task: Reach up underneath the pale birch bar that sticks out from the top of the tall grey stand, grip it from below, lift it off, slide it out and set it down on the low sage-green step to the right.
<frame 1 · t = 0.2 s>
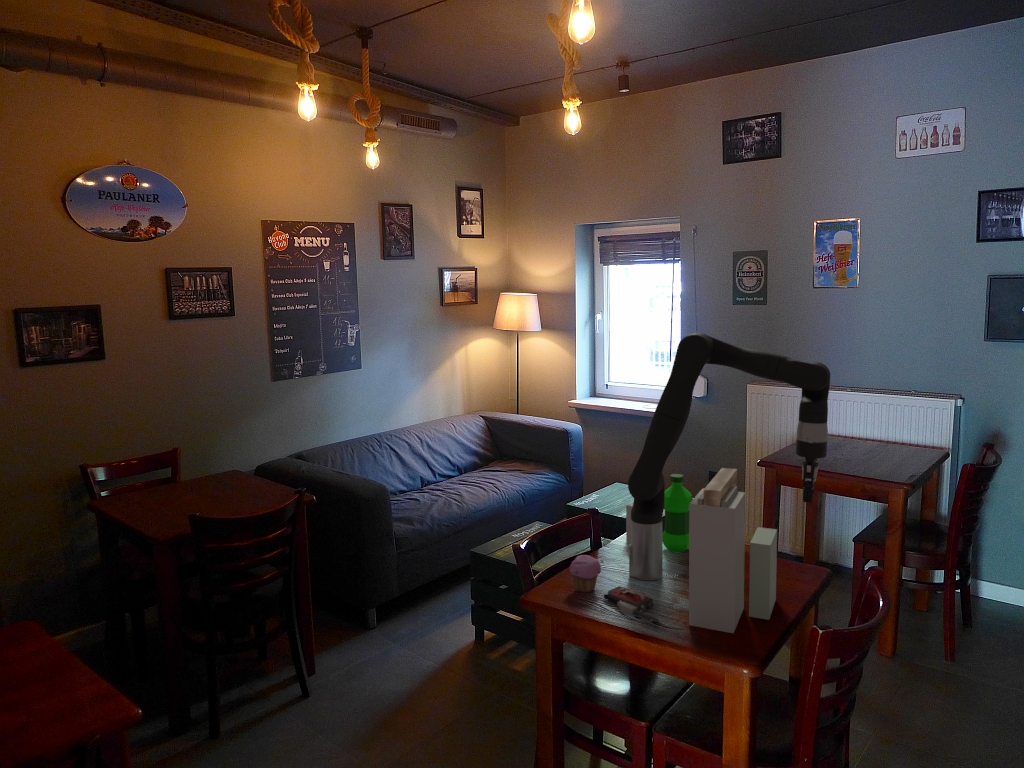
hand: (808, 497, 192), 29 cm above the table, tool pointing down, fingers open, 8 cm apart
small box: (641, 542, 244), on the table
birch bar: (721, 493, 187), point 32 cm above the table, touching grey stand
plastic bottle: (676, 550, 236), on the table
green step: (762, 608, 192), on the table
grey stand: (716, 616, 187), on the table
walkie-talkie: (636, 610, 194), on the table
cupcake: (585, 590, 207), on the table
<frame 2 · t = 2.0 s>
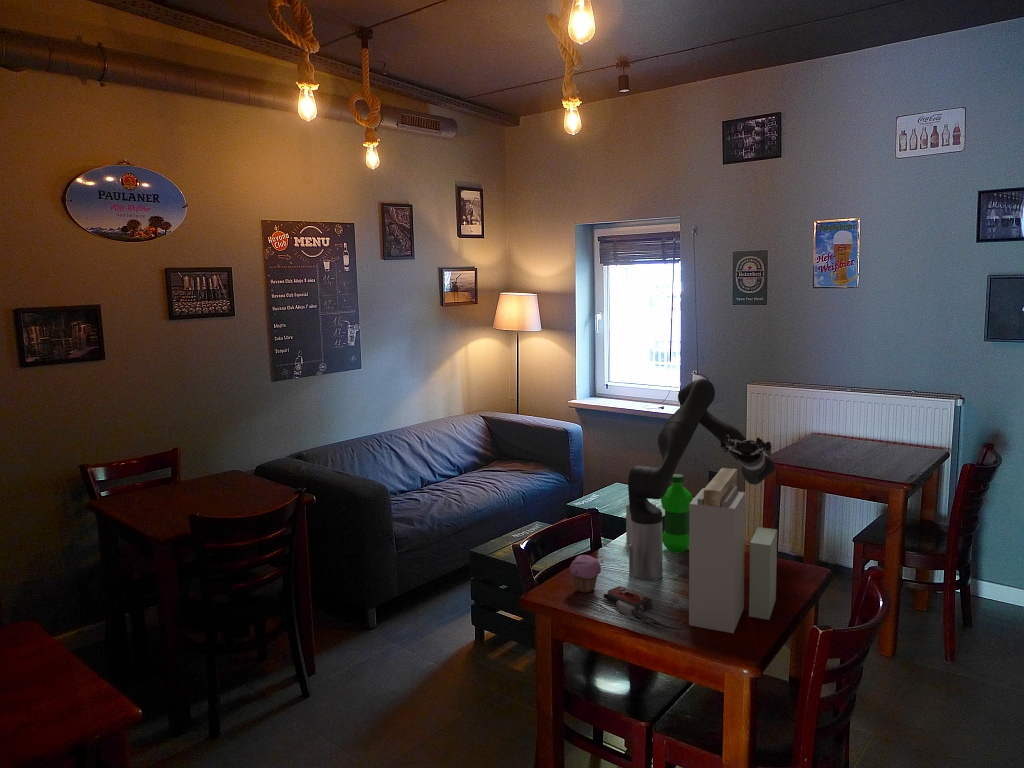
hand: (742, 439, 209), 41 cm above the table, tool pointing upward, fingers open, 8 cm apart
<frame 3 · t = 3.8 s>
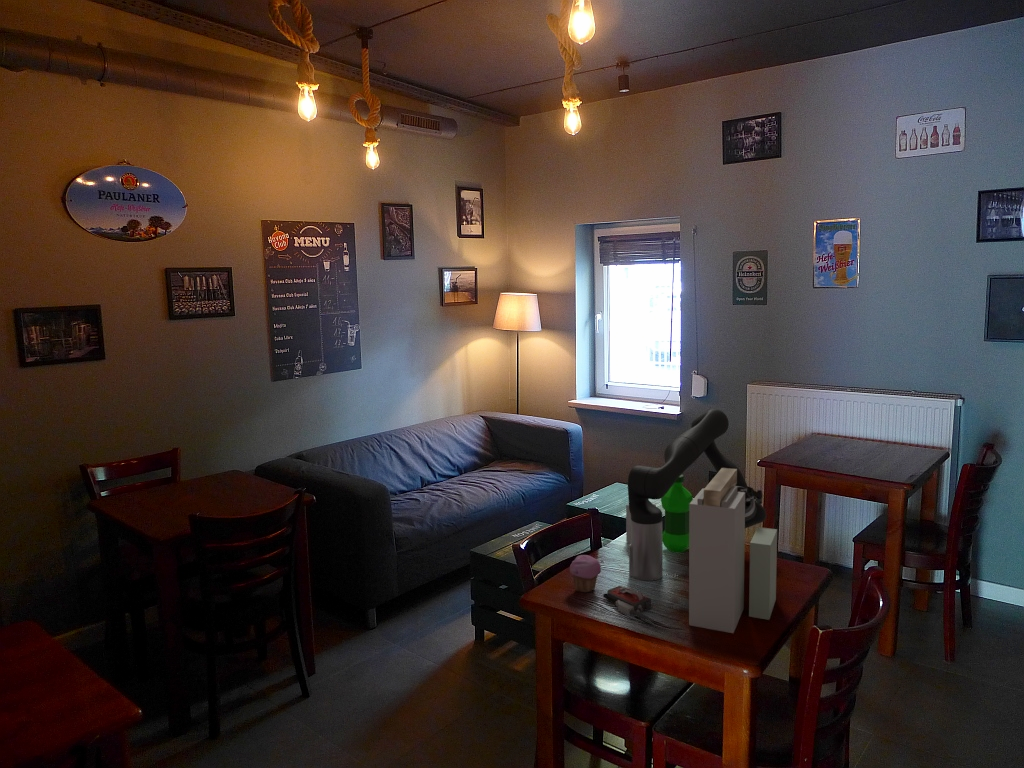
hand: (732, 487, 202), 29 cm above the table, tool pointing upward, fingers open, 8 cm apart
nothing on the table moved.
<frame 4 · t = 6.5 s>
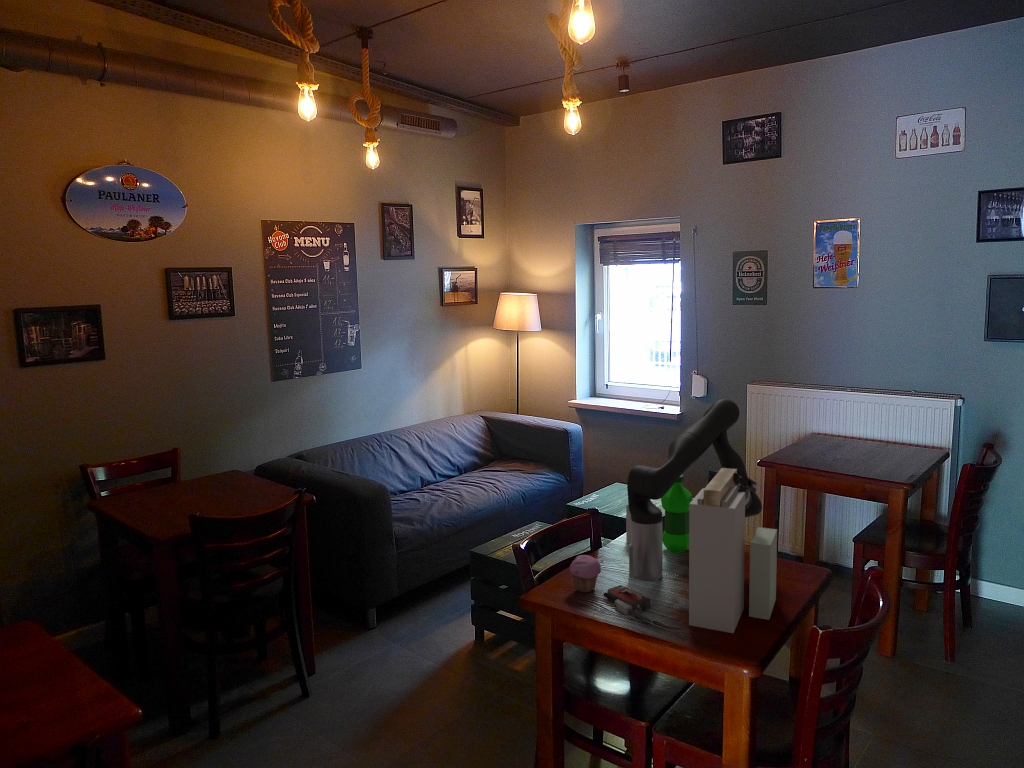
hand: (725, 475, 192), 35 cm above the table, tool pointing upward, fingers closed on birch bar, 4 cm apart
birch bar: (721, 493, 187), point 32 cm above the table, touching grey stand, gripper
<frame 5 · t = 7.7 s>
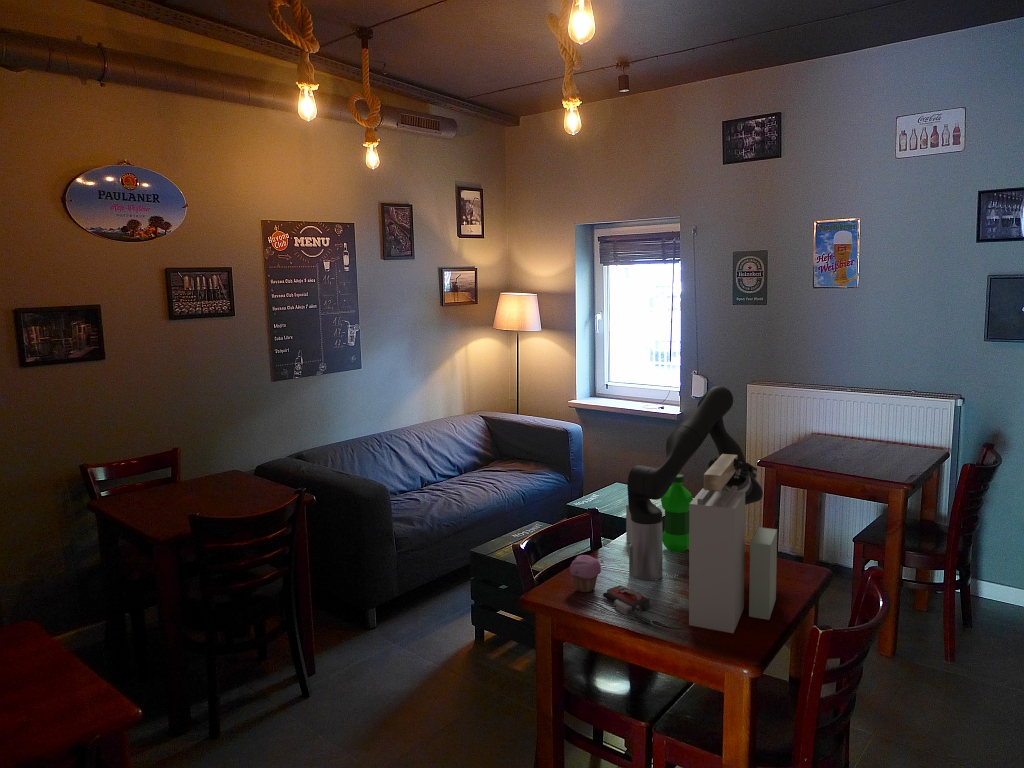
hand: (726, 461, 191), 39 cm above the table, tool pointing upward, fingers closed on birch bar, 4 cm apart
birch bar: (721, 479, 187), point 36 cm above the table, touching gripper
everything else where it was.
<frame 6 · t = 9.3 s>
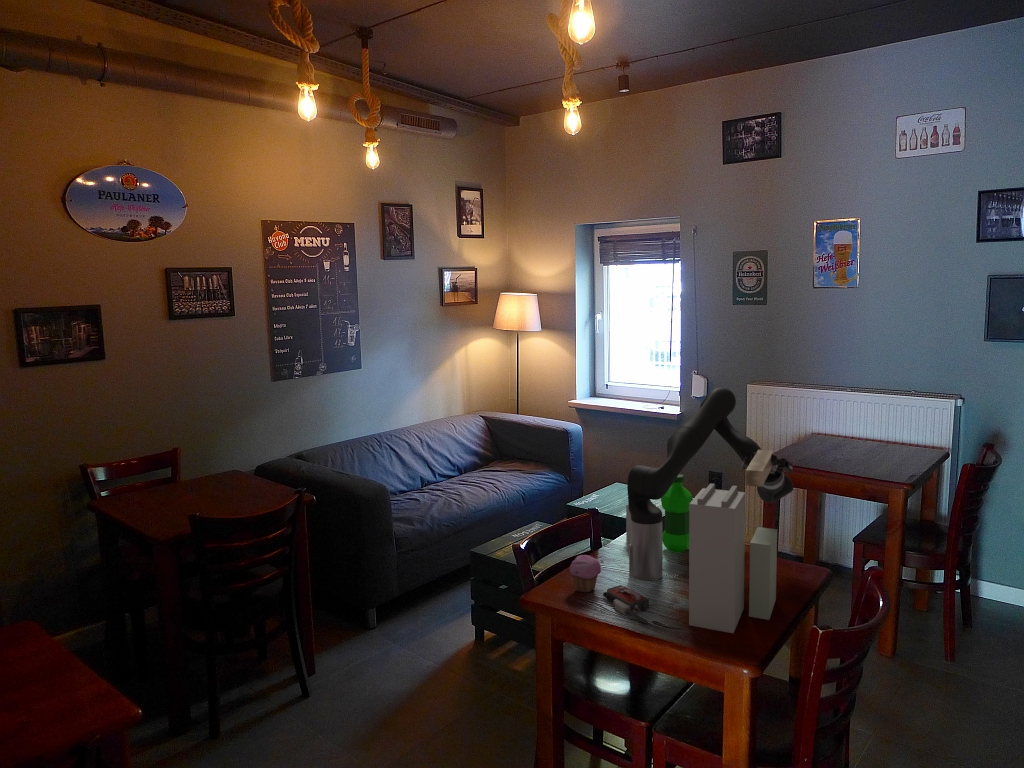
hand: (763, 456, 195), 39 cm above the table, tool pointing upward, fingers closed on birch bar, 4 cm apart
birch bar: (760, 474, 190), point 36 cm above the table, touching gripper
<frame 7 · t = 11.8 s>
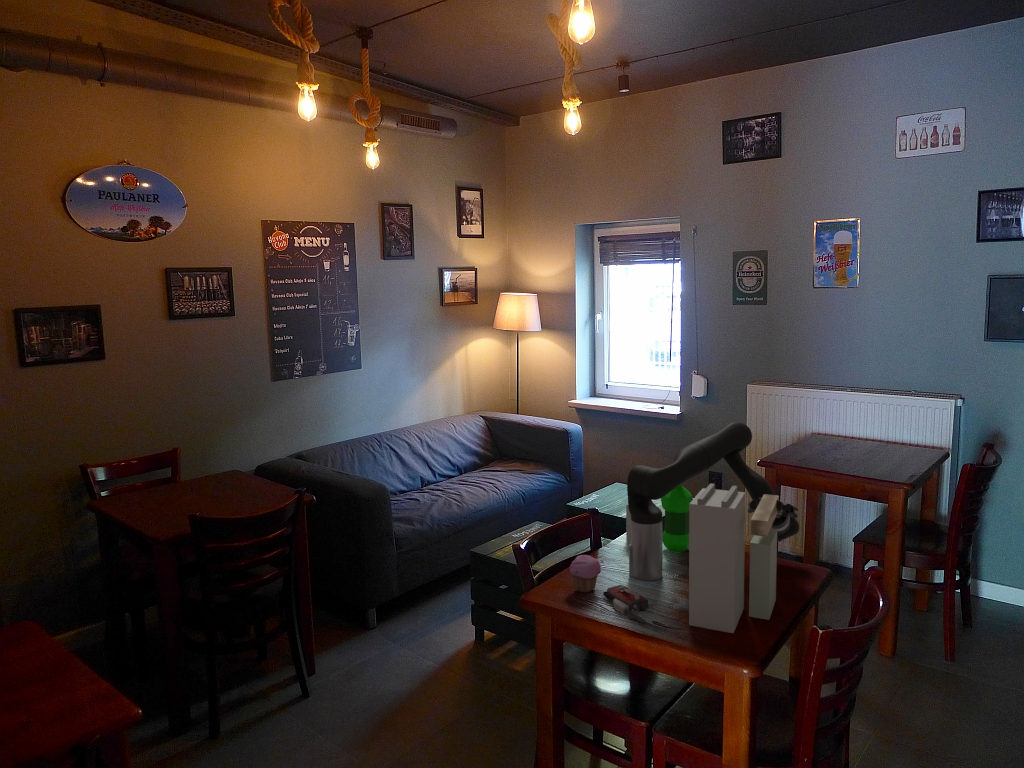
hand: (768, 502, 195), 27 cm above the table, tool pointing upward, fingers closed on birch bar, 4 cm apart
birch bar: (765, 521, 190), point 23 cm above the table, touching gripper
when the fingers open (25 cm above the table, at t = 12.6 s): birch bar drops 2 cm, resting on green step.
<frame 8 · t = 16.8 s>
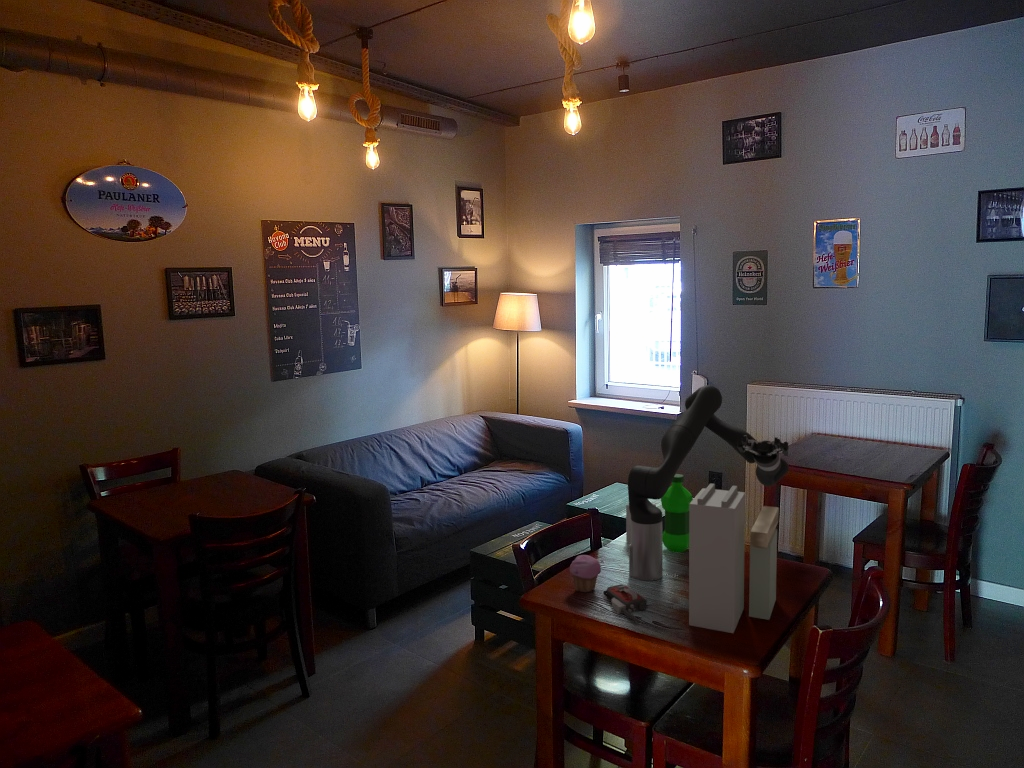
hand: (760, 439, 208), 41 cm above the table, tool pointing upward, fingers open, 8 cm apart
birch bar: (765, 533, 191), point 20 cm above the table, touching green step
at the end: birch bar inside the target area on the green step (1.1 cm from its centre), point 20.0 cm above the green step's base; birch bar touching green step; the gripper is holding nothing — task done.
